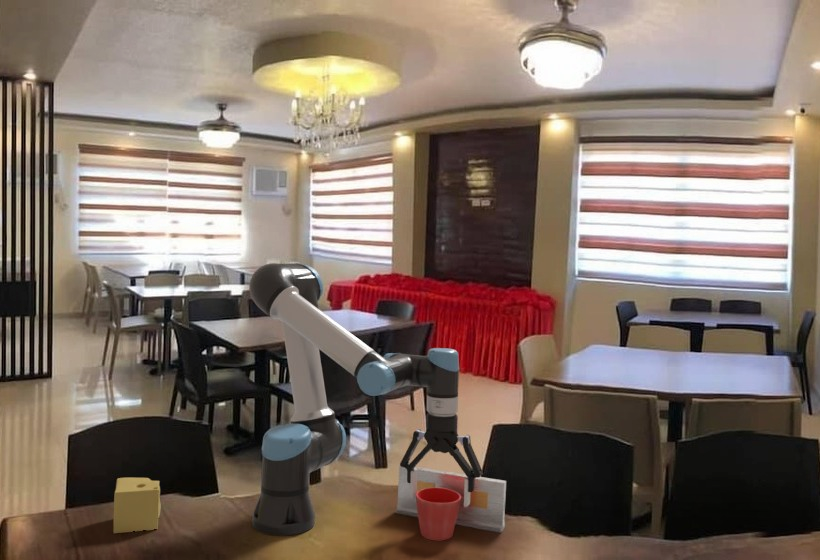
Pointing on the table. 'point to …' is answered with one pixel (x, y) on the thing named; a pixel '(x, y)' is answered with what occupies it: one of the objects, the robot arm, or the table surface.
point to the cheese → (136, 505)
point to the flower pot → (437, 512)
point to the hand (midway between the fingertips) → (439, 500)
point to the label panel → (483, 500)
